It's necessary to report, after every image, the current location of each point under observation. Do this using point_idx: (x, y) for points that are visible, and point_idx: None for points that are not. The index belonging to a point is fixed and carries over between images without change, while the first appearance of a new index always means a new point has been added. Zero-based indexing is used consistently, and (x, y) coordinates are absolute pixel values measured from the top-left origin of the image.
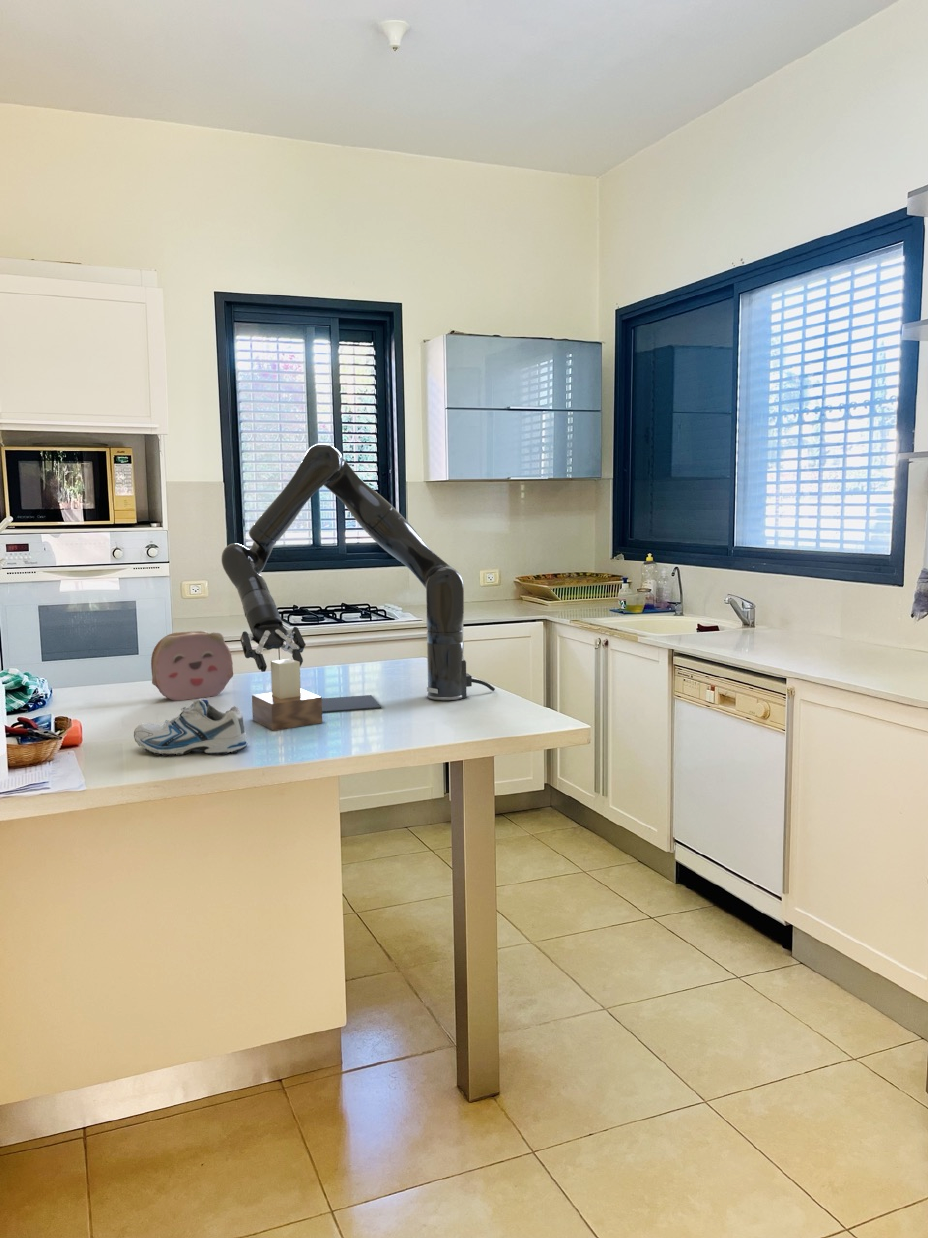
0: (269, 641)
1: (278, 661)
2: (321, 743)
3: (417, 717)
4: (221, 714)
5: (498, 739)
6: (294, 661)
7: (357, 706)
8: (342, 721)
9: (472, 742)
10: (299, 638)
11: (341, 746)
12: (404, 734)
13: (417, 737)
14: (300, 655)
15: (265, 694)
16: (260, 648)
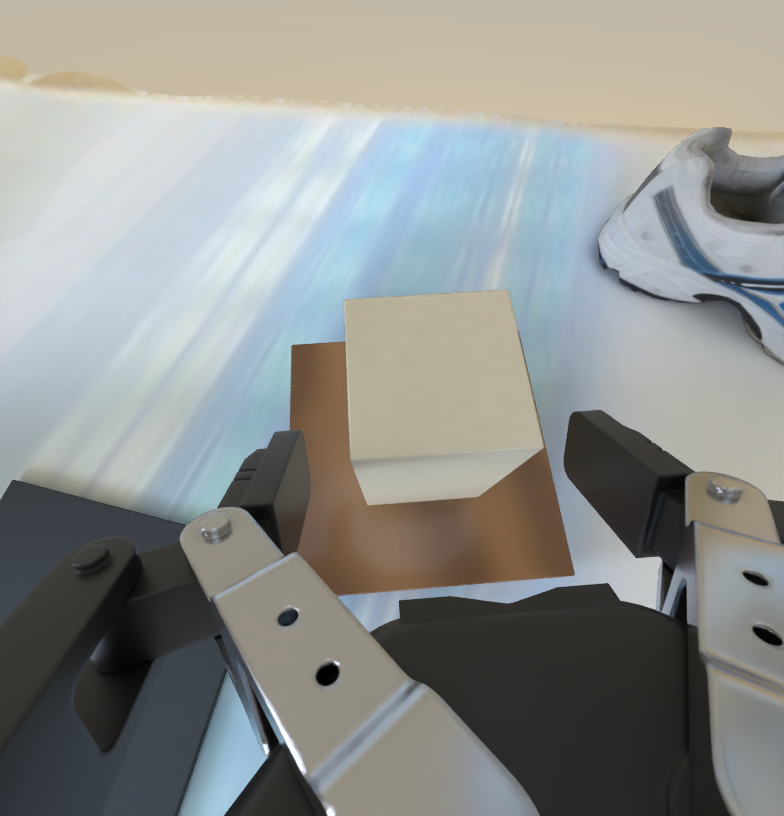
0: (618, 632)
1: (487, 389)
2: (406, 210)
3: (33, 307)
4: (730, 218)
5: (66, 81)
6: (373, 327)
7: (75, 540)
8: (247, 378)
9: (123, 87)
10: (24, 668)
11: (374, 172)
12: (193, 186)
13: (186, 156)
14: (238, 483)
15: (504, 536)
16: (717, 514)
